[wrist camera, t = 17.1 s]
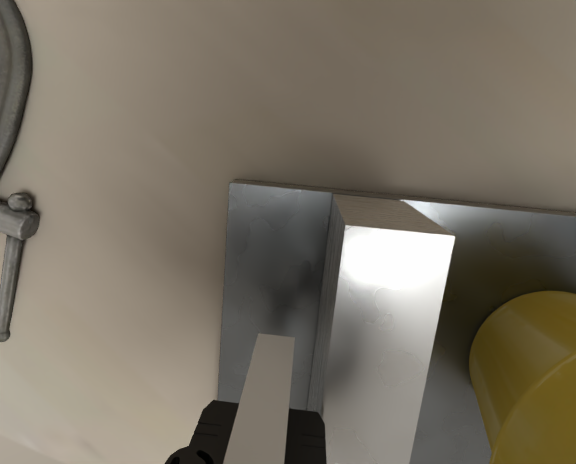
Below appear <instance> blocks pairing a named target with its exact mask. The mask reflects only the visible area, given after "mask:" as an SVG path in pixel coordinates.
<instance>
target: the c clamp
mask: <svg viewBox="0 0 576 464" xmlns="http://www.w3.org/2000/svg"><path fill="white" fill-rule="evenodd" d="M31 68H32V61H31V49H30V43H29V38H28V34H27V31H26V27H25V24H24V21H23V19H22V16H21V14H20V12H19V10H18V8H17V6H16V4H15V2H14V1H13V0H0V172H1V170H2V168H3V167H4V164H5V162H6V160H7V158H8V155H9V153H10V151H11V148H12V146H13V143H14V140H15V137H16V134H17V131H18V128H19V125H20V121H21V117H22V113H23V109H24V104H25V100H26V96H27V93H28V88H29V83H30V77H31ZM31 207H32V201H31V198H29V197H28V195H27V193H15V194H11V196H10V197H9V198H8V203H6V202H2V201H0V232H1V233H4V234H7V239H6V247H5V254H4V262H3V269H2V277H1V284H0V342H4V341H6V340H7V339H8V338H9V337H10V331H9V326H10V321H11V316H12V309H13V303H14V295H15V289H16V282H17V276H18V269H19V262H20V255H21V248H22V245H23V243H22V241H23V240H25V239H27V238H30V237H31V236H32V235H34V233H35V232H36V230H37V229H38V226H39V216H38V215H37V214H36V213H34V212H32V211H30V208H31Z"/></svg>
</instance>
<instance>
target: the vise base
mask: <svg viewBox="0 0 576 464" xmlns="http://www.w3.org/2000/svg"><path fill="white" fill-rule="evenodd" d="M333 194H340V195H350V196H360V197H370V198H380V199H391V200H401V201H405V202H406V203H408V204H409V205H411V206H412V207H414V208H415V209H416V210H418V211H419V212H421V213H422V214H424V215H425V216H427V217H428V218H430V219H431V220H432V221H434V222H435V223H437V224H438V225H440V226H441V227H443V228H444V229H446V230H447V231H449V232H450V233H451V234H453V235H454V236H455V240H454V244H453V249H452V254H451V259H450V264H449V269H448V274H447V279H446V284H445V289H444V294H443V299H442V304H441V309H440V314H439V319H438V324H437V329H436V333H435V338H434V343H433V348H432V353H431V358H430V363H429V368H428V373H427V378H426V383H425V388H424V393H423V398H422V403H421V408H420V413H419V418H418V422H417V427H416V432H415V437H414V442H413V447H412V452H411V457H410V462H409V464H489V463H490V458H491V454H492V452H491V448H490V444H489V441H488V437H487V434H486V430H485V426H484V423H483V419H482V416H481V412H480V408H479V405H478V401H477V398H476V395H475V391H474V388H473V385H472V381H471V377H470V371H469V355H470V350H471V346H472V343H473V340H474V338H475V336H476V334H477V331H478V330H479V328H480V327H481V325H482V324H483V323H484V321H485V320H486V319H487V318H488V317H489V316H490V315H491V314H492V313H493V312H494V311H495V310H496V309H498V308H499V307H500V306H502V305H503V304H505V303H506V302H508V301H510V300H512V299H514V298H516V297H519V296H521V295H525V294H528V293H533V292H539V291H564V292H570V293H574V294H576V212H567V211H557V210H547V209H537V208H527V207H516V206H506V205H496V204H486V203H475V202H465V201H455V200H445V199H434V198H424V197H414V196H404V195H394V194H383V193H373V192H363V191H353V190H342V189H332V188H322V187H312V186H302V185H291V184H281V183H271V182H261V181H250V180H240V179H235V180H233V181H232V182H230V183H229V200H228V218H227V237H226V255H225V274H224V292H223V310H222V329H221V347H220V366H219V384H218V401H225V402H233V403H240V399H241V395H242V392H243V388H244V384H245V381H246V377H247V373H248V370H249V366H250V362H251V359H252V355H253V351H254V347H255V344H256V340H257V336H258V333H261V334H269V335H278V336H286V337H295V341H294V353H293V365H292V376H291V388H290V400H289V408H290V409H298V410H306V411H307V406H308V398H309V389H310V381H311V373H312V364H313V356H314V348H315V339H316V331H317V323H318V314H319V306H320V297H321V289H322V281H323V272H324V264H325V256H326V247H327V239H328V231H329V222H330V214H331V206H332V197H333Z"/></svg>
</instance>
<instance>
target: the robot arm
mask: <svg viewBox="0 0 576 464" xmlns="http://www.w3.org/2000/svg"><path fill="white" fill-rule="evenodd" d="M294 341H295V337H286V336H278V335H269V334H261V333H258V336H257V340H256V344H255V347H254V351H253V355H252V359H251V362H250V366H249V370H248V373H247V377H246V381H245V384H244V388H243V392H242V395H241V399H240V403H233V402H225V401H217V400H213V401H212V402H211V403H210V404H209V405H208V406H207V407H206V408H204V409H203V411H202V414H201V416H200V419H199V421H198V425H197V426H196V429H195V431H194V435H193V436H192V439H191V441H190V444H189V446H187V447H184V448H181V449H179V450H177V451H176V452H174V453H173V454H172V455H170V457H169V458H168V459H167V461H166V462H165V464H327V459H326V440H325V423H324V421H323V420H322V418H321V416H320V414H319V413H318V412H314V411H306V410H298V409H290V408H289V400H290V388H291V376H292V365H293V353H294Z"/></svg>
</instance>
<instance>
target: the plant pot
mask: <svg viewBox="0 0 576 464" xmlns="http://www.w3.org/2000/svg"><path fill="white" fill-rule="evenodd" d="M469 371H470V377H471V381H472V385H473V388H474V391H475V395H476V398H477V401H478V405H479V408H480V412H481V416H482V419H483V423H484V426H485V430H486V434H487V437H488V441H489V444H490V448H491V452H492V454H491V458H490V463H489V464H576V294H574V293H570V292H564V291H539V292H533V293H528V294H525V295H521V296H519V297H516V298H514V299H512V300H510V301H508V302H506V303H505V304H503V305H502V306H500V307H499V308H498V309H496V310H495V311H494V312H493V313H492V314H491V315H490V316H489V317H488V318H487V319H486V320H485V321H484V323H483V324H482V325H481V327H480V328H479V330H478V331H477V334H476V336H475V338H474V340H473V343H472V346H471V350H470V355H469Z"/></svg>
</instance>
